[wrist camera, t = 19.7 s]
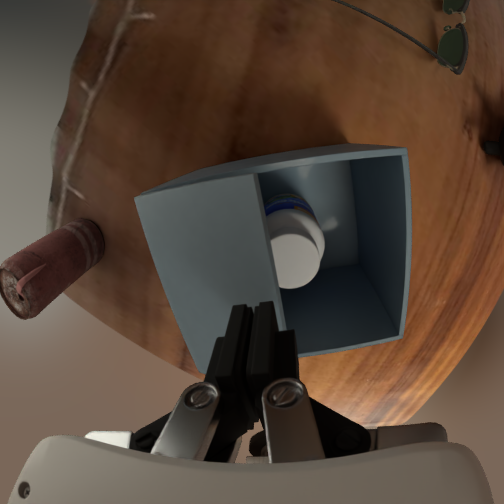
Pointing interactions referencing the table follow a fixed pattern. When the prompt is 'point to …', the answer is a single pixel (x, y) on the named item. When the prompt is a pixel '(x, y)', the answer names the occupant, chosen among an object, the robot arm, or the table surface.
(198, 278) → the flap
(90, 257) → the can
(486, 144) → the toy ball
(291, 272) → the pill bottle
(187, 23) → the table surface
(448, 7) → the sunglasses
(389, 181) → the carton
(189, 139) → the table surface
